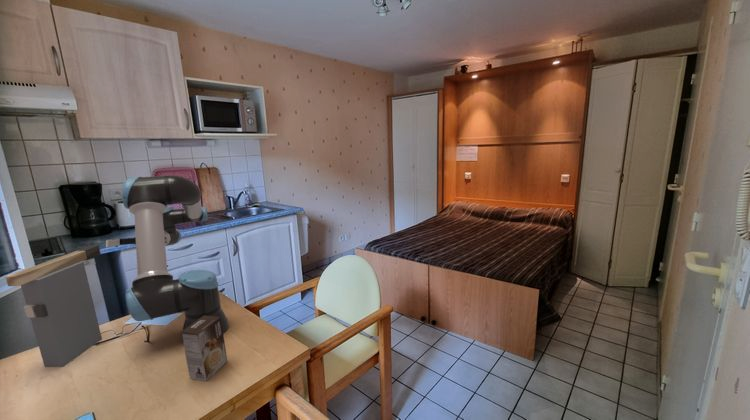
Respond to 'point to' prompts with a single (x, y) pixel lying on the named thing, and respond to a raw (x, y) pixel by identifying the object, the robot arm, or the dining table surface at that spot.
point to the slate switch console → (62, 314)
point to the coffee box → (204, 347)
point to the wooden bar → (52, 266)
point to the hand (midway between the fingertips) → (125, 243)
